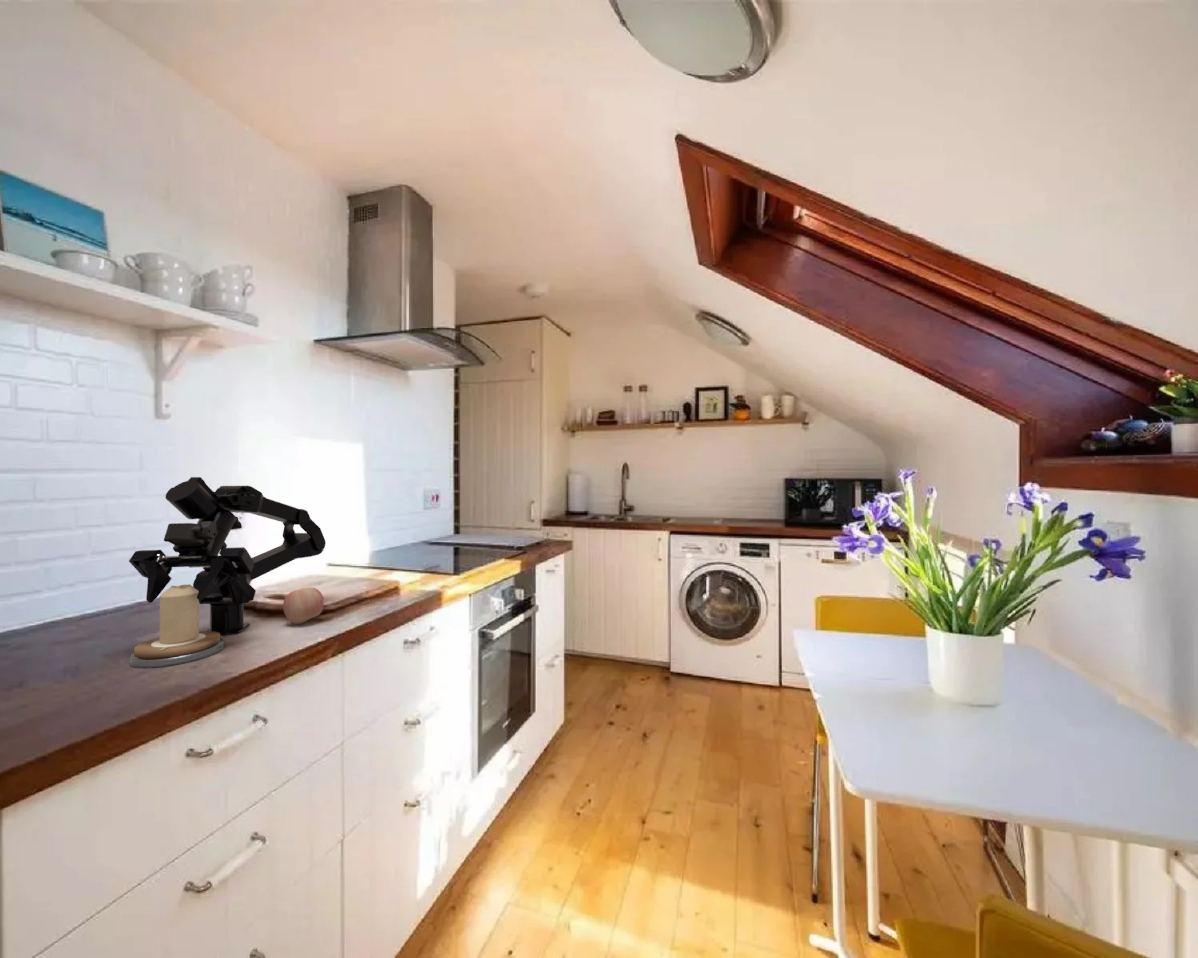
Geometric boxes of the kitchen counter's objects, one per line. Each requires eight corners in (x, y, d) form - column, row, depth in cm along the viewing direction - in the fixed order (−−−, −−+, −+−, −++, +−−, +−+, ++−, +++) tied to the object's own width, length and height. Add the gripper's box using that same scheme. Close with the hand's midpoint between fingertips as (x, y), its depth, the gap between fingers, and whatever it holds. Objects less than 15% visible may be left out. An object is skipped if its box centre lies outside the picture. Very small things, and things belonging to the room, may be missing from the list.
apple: (327, 616, 114) (327, 583, 114) (319, 625, 106) (319, 589, 106) (288, 620, 111) (288, 585, 111) (278, 629, 104) (277, 592, 104)
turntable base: (157, 646, 93) (157, 640, 93) (235, 639, 97) (235, 634, 97) (111, 671, 81) (111, 664, 81) (202, 663, 85) (202, 656, 85)
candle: (175, 645, 86) (175, 589, 86) (151, 643, 87) (151, 588, 87) (206, 635, 91) (206, 583, 91) (183, 634, 92) (183, 582, 92)
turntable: (159, 639, 93) (159, 633, 93) (231, 634, 96) (231, 627, 96) (116, 661, 82) (116, 654, 82) (200, 654, 85) (200, 647, 85)
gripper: (136, 508, 91) (86, 577, 80) (246, 506, 95) (213, 572, 84) (165, 544, 99) (123, 612, 88) (266, 541, 102) (238, 606, 92)
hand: (174, 600), depth 88 cm, fingers open, 8 cm apart
